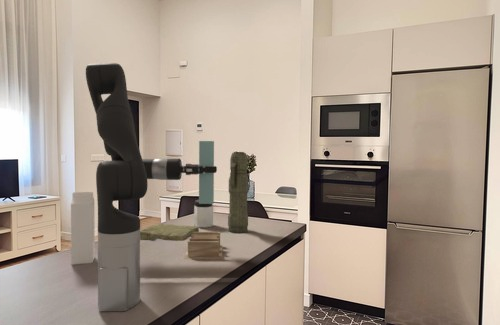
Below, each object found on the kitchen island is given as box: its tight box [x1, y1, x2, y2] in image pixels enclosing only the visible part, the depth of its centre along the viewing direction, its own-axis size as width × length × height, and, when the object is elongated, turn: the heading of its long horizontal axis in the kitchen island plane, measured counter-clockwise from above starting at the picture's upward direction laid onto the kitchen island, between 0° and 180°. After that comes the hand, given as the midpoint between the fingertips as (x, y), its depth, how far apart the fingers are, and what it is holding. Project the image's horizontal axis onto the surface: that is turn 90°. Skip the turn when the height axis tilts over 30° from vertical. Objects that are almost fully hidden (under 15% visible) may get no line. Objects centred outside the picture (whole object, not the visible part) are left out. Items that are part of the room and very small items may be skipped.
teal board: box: [198, 140, 215, 205], centre depth 121 cm, size 2×5×22 cm, turn 93°
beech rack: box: [184, 231, 224, 260], centre depth 118 cm, size 16×12×6 cm
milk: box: [70, 191, 96, 266], centre depth 108 cm, size 6×6×22 cm
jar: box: [193, 199, 214, 229], centre depth 160 cm, size 9×8×12 cm
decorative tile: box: [140, 223, 200, 241], centre depth 142 cm, size 19×20×4 cm
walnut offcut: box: [193, 236, 217, 238], centre depth 118 cm, size 2×8×5 cm, turn 93°
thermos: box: [227, 151, 249, 234], centre depth 151 cm, size 9×12×35 cm
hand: (216, 169), depth 121 cm, fingers closed on teal board, 2 cm apart
